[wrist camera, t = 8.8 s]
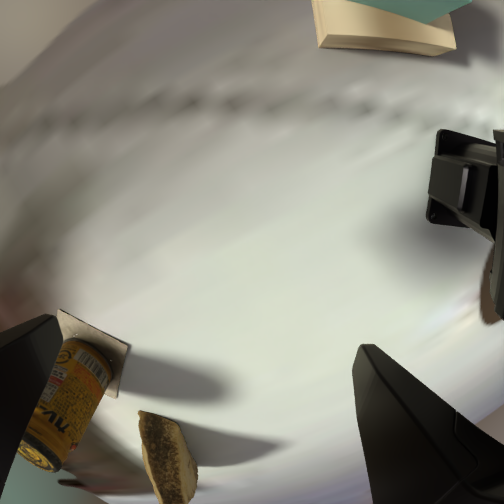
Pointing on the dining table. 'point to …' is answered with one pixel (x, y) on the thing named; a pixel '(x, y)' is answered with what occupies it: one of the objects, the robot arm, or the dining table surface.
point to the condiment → (72, 393)
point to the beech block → (379, 29)
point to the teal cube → (416, 7)
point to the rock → (167, 459)
